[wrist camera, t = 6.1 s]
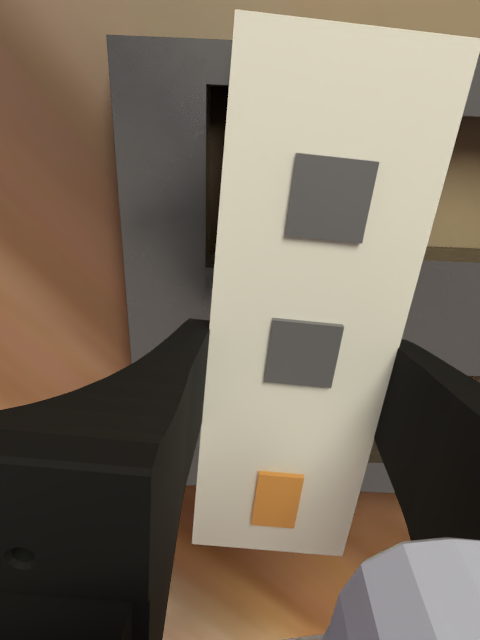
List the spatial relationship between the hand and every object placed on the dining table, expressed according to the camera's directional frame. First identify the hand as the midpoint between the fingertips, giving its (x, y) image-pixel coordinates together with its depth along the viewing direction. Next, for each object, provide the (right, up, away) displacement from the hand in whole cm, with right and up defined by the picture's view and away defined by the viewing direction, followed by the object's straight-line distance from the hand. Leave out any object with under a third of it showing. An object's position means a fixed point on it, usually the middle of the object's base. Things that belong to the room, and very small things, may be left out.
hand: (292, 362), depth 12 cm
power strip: (0, +2, +3) cm, 4 cm away
